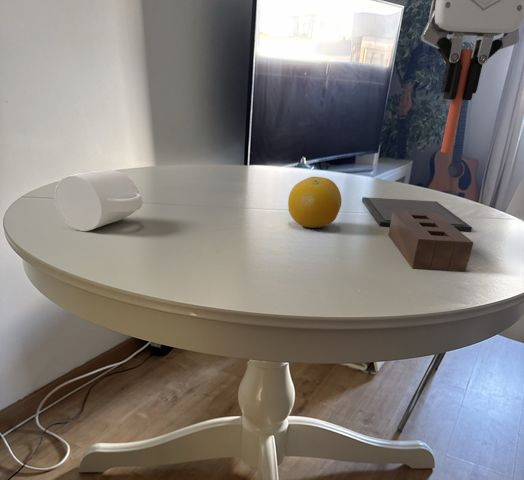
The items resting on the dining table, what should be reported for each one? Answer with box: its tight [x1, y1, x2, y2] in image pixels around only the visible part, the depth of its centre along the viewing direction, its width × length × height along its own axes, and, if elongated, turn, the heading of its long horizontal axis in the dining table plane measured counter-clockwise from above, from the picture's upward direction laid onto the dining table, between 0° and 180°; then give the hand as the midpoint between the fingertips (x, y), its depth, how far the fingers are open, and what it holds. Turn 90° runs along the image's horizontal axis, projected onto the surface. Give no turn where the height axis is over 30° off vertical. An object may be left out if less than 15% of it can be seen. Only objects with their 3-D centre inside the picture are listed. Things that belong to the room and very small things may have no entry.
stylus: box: [440, 48, 473, 154], centre depth 63 cm, size 1×1×12 cm
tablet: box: [361, 196, 473, 233], centre depth 93 cm, size 16×22×1 cm
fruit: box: [287, 176, 343, 229], centre depth 79 cm, size 9×8×8 cm
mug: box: [54, 168, 143, 232], centre depth 74 cm, size 12×9×8 cm
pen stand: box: [387, 211, 474, 273], centre depth 71 cm, size 7×17×4 cm, turn 178°
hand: (457, 98), depth 62 cm, fingers closed on stylus, 1 cm apart
